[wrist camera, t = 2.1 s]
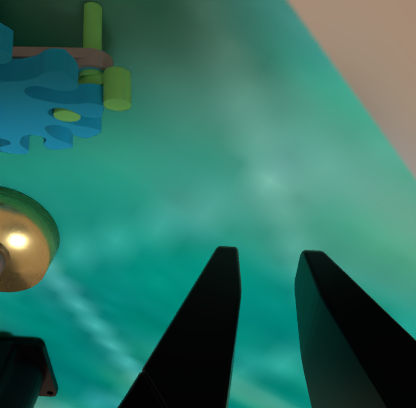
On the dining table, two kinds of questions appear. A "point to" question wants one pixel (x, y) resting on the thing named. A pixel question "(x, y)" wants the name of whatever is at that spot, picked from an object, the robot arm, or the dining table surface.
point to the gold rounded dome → (24, 241)
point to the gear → (58, 88)
